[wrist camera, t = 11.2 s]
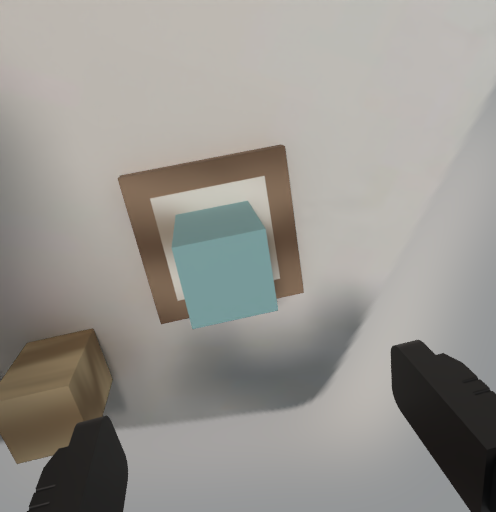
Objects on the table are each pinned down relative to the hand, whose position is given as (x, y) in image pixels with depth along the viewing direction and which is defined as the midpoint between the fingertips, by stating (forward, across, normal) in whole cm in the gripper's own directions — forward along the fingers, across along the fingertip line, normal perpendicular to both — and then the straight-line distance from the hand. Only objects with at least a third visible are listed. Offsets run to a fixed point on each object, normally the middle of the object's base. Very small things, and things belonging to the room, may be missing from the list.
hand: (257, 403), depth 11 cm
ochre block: (+16, +12, +7) cm, 21 cm away
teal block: (+15, 0, 0) cm, 15 cm away
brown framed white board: (+16, 0, 0) cm, 16 cm away
